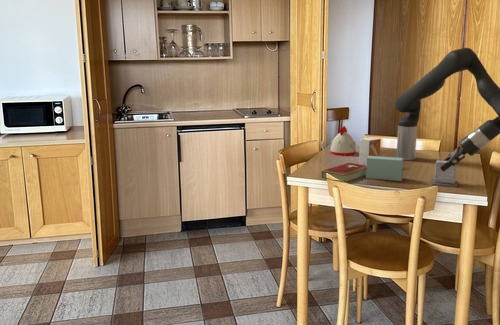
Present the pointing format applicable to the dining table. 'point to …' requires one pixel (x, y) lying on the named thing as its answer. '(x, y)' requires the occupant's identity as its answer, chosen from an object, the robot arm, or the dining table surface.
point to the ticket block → (384, 168)
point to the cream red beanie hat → (343, 144)
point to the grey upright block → (444, 173)
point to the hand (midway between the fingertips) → (441, 167)
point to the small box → (369, 149)
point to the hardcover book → (346, 171)
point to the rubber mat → (444, 183)
